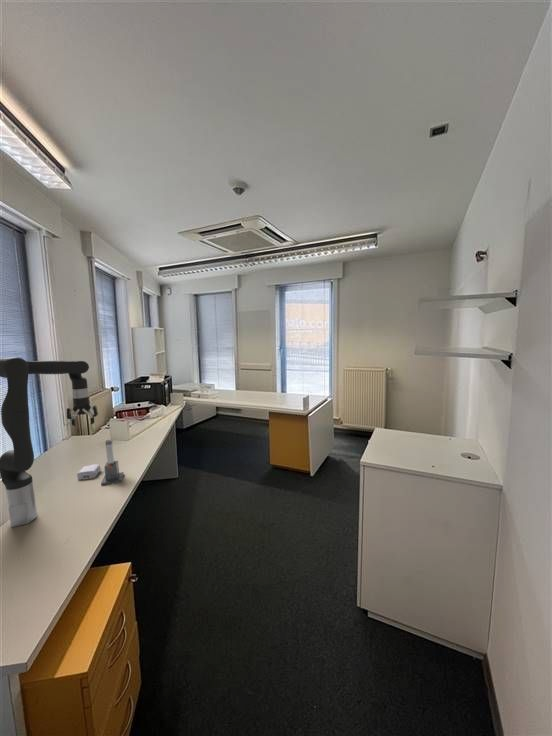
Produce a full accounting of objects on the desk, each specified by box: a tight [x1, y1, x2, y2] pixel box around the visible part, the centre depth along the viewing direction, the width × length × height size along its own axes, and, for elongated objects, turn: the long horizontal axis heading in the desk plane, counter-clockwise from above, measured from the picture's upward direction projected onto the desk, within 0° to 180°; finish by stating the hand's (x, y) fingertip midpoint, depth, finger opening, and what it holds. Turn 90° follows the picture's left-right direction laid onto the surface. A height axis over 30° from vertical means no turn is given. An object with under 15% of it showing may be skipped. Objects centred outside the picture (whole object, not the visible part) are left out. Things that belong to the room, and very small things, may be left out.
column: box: [105, 439, 116, 465], centre depth 166 cm, size 3×3×17 cm
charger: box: [76, 463, 101, 481], centre depth 177 cm, size 5×9×15 cm
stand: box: [100, 460, 125, 486], centre depth 167 cm, size 10×10×10 cm
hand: (83, 424), depth 161 cm, fingers open, 8 cm apart
